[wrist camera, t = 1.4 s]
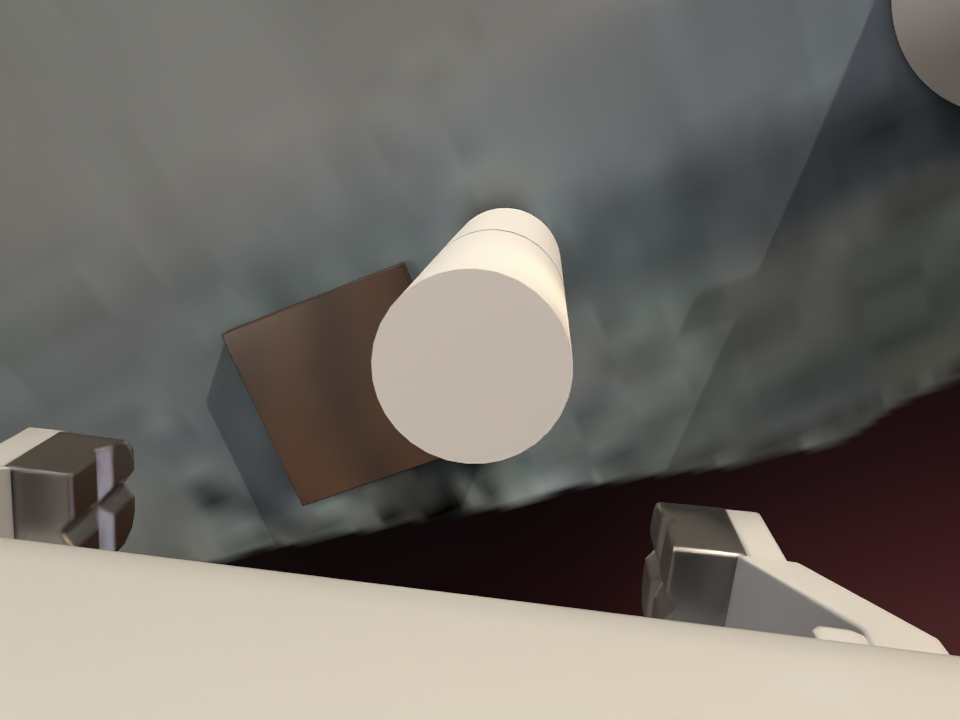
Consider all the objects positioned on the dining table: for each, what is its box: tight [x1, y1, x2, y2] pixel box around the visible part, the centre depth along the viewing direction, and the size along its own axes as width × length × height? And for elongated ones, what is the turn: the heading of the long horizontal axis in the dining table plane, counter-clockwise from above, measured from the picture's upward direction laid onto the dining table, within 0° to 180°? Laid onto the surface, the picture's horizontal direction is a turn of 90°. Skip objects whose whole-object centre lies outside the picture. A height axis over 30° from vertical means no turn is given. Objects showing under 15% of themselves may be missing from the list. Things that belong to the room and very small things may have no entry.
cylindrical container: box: [371, 208, 573, 464], centre depth 42 cm, size 7×7×25 cm
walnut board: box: [222, 262, 440, 506], centre depth 56 cm, size 13×13×1 cm
